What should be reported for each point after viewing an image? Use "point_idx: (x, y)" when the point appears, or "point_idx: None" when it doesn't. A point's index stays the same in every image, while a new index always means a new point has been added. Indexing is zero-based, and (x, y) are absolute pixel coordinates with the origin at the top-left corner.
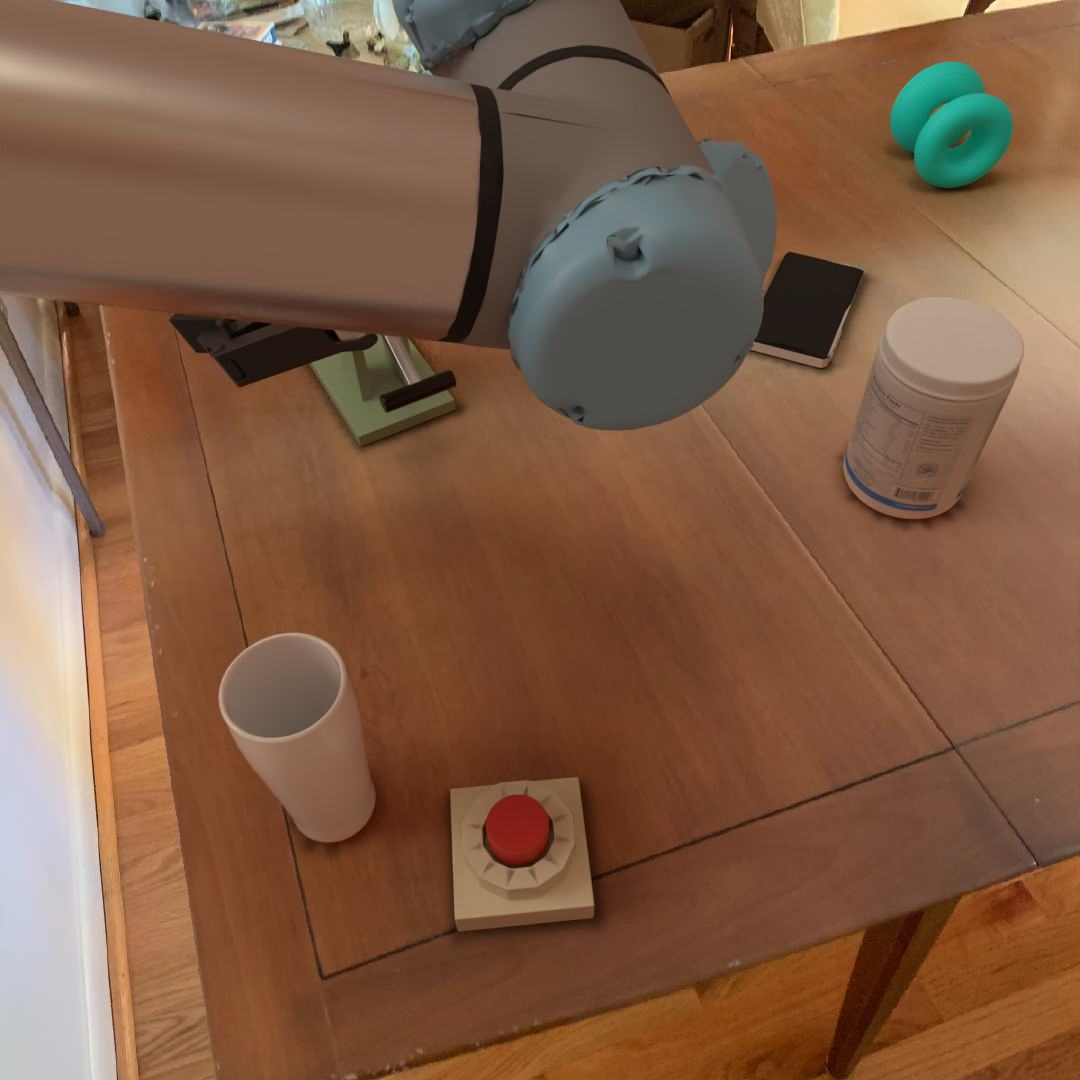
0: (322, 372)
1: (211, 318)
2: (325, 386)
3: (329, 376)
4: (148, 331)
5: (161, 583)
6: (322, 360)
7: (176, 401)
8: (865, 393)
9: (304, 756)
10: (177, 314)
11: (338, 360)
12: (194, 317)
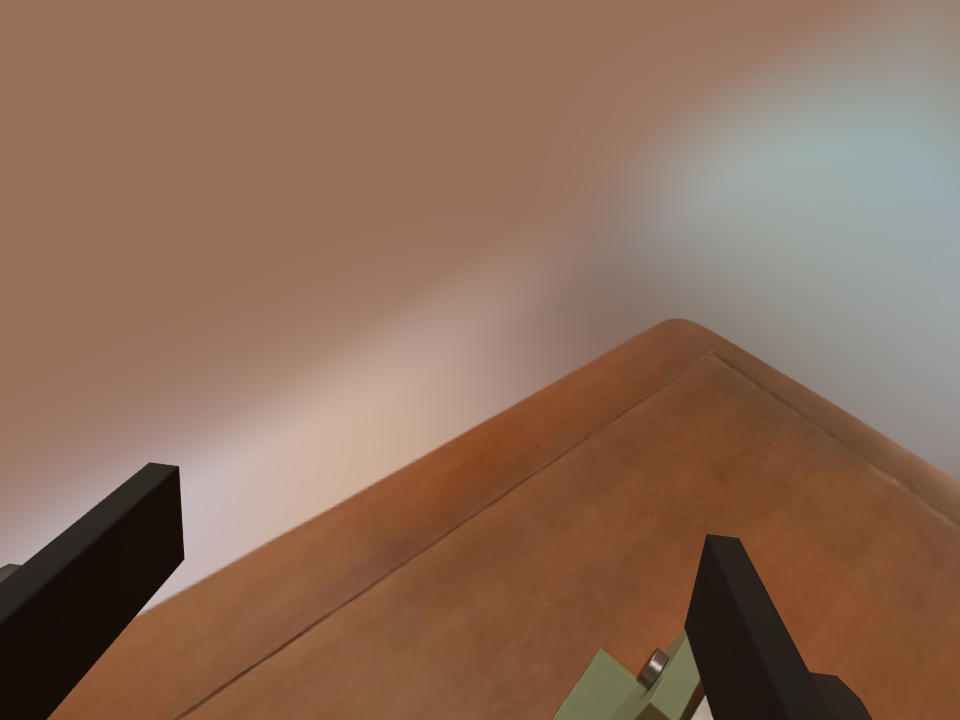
0: (580, 692)
1: (7, 580)
2: (556, 713)
3: (577, 710)
4: (550, 426)
5: None
6: (604, 678)
7: (451, 508)
8: None
9: None
10: (162, 472)
11: (618, 706)
12: (89, 521)
